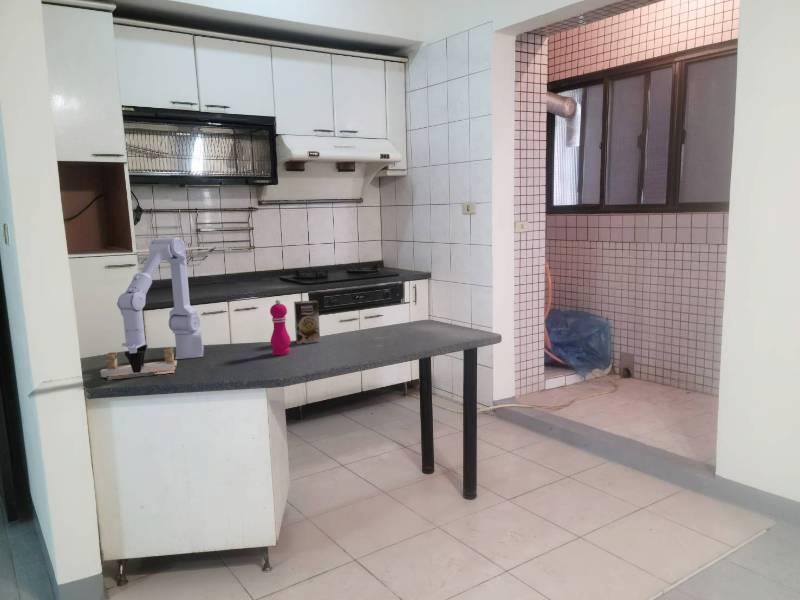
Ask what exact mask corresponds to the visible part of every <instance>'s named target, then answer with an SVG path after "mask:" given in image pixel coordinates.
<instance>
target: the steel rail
mask: <svg viewBox="0 0 800 600" xmlns="http://www.w3.org/2000/svg"><path fill="white" fill-rule="evenodd" d="M174 369H175V370H176V367H175V366H174V362H171V363H161V364H151V365H141V372H139V373H149V372H161V371H171V370H174ZM129 374H138V373H133V370H132V368H131V367H121V368H111V369H107V368H103V369H101V370H100V378H101V377H103V378H108V377H107V376H118V375H129Z"/></svg>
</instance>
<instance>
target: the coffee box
mask: <svg viewBox="0 0 800 600" xmlns="http://www.w3.org/2000/svg"><path fill="white" fill-rule="evenodd" d="M293 306H294V307H293V308H294V327H295V328H294V329H295V342H296V341H297V342H296V344H297V345H303V344H302V343H305V344H314V343H315V342H316V343H321V333H320V332H321V331H320V312H319V311H320V310H319V301H318V300H303V301H302V300H301V301H293Z"/></svg>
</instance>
